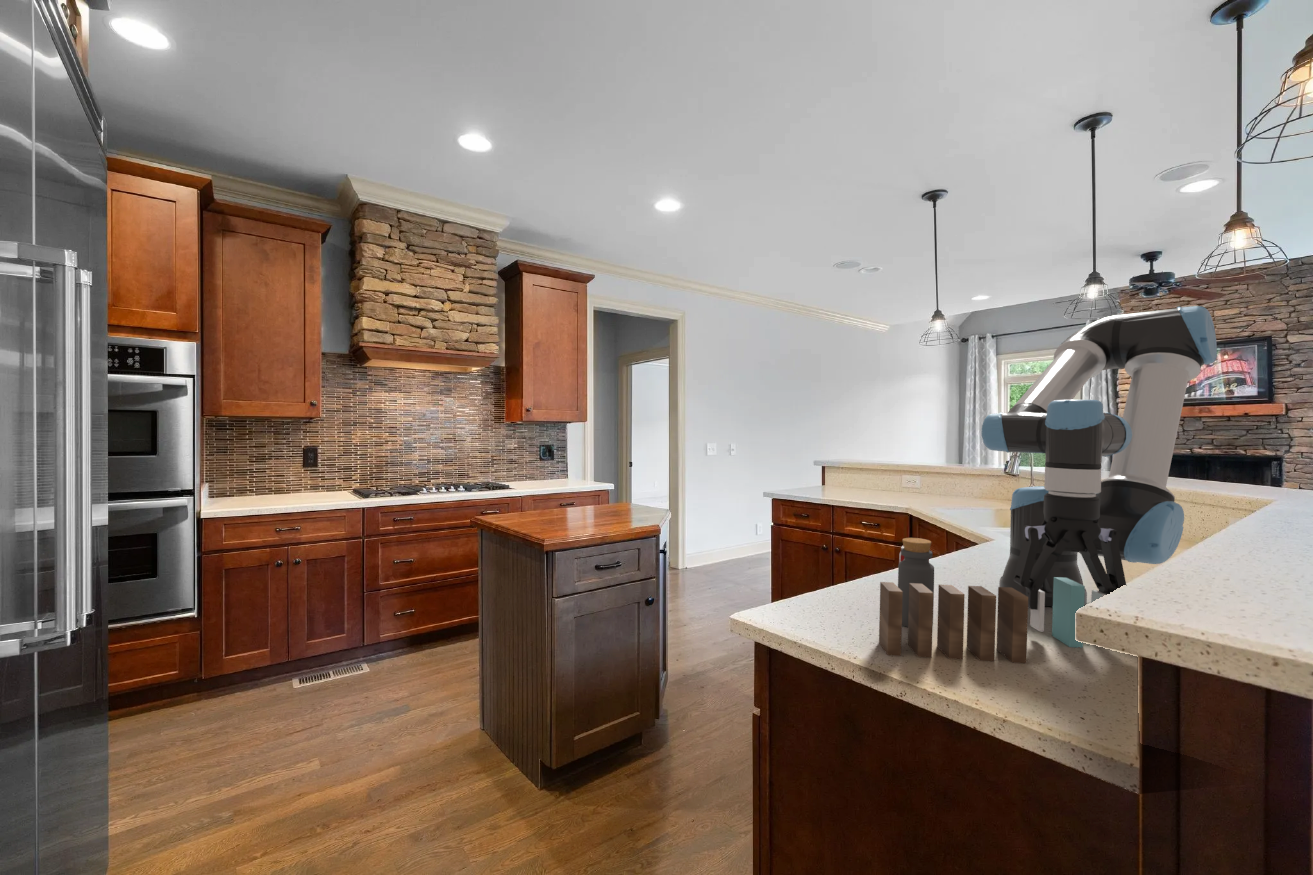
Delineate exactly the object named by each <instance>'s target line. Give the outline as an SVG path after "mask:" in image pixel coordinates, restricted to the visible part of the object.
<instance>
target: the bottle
mask: <svg viewBox="0 0 1313 875" xmlns="http://www.w3.org/2000/svg"><path fill="white" fill-rule="evenodd" d="M902 544H903V545H902V546H904V548H900V551H901V555H903V556H904V560H903V561H901V562H900V563H899V562H898V569H897V571H898V572H897V573H898V574H897V578H898V579H897V587H898V588H899V589H900V590H901V591H902V592H903V595H902V627H905V628H908V615H909V583H917V584H923V585H924V586H926V587H927V588H928V589H929V590H930V591H932V592H933V608H934V605H935V604H934V602H935V601H934V598H935V594H934V593H935V567H934V565H933V564H932V563H930V559H932V558H933V551H932V550H931V546H932V541H931V540H929V539H925V538H921V537H920V538H918V537H905V538H902Z"/></svg>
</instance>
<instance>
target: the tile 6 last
mask: <svg viewBox="0 0 1313 875" xmlns="http://www.w3.org/2000/svg"><path fill="white" fill-rule="evenodd" d="M879 583H880V584H879V620H878V621H879V622H878V623H879V630H878V631H879V632H878V644H879V645H880V646H881V648H882V650H884V652H885V654H886V655H887V656H891V657H892V656H893V657H894V656H895V657H901V656H902V639H903V638H902V635H903V634H902V632H903V629H902V628H903V625H902V595H903V592H902V591H901V590H900V589H899V588H898V585H896V584H895V583H894V582H893V581H892V582H889V581H880V582H879Z"/></svg>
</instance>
